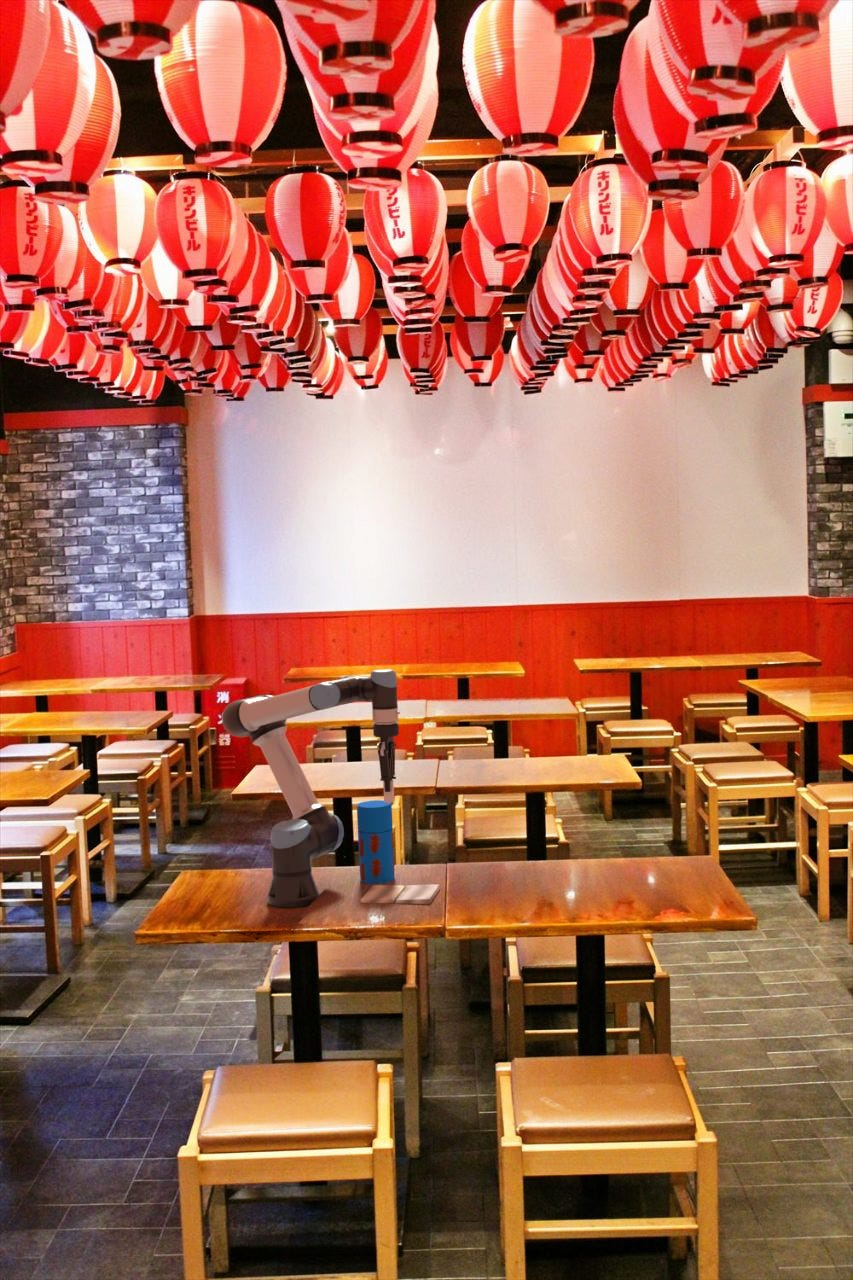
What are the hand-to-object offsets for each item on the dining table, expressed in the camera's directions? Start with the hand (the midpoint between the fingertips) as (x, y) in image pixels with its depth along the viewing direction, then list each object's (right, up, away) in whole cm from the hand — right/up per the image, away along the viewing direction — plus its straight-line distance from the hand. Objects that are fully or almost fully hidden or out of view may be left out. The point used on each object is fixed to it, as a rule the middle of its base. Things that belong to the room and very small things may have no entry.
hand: (389, 801), depth 351 cm
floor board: (+4, -29, +2) cm, 30 cm away
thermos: (-4, -28, +21) cm, 35 cm away
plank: (+9, -28, +1) cm, 30 cm away
